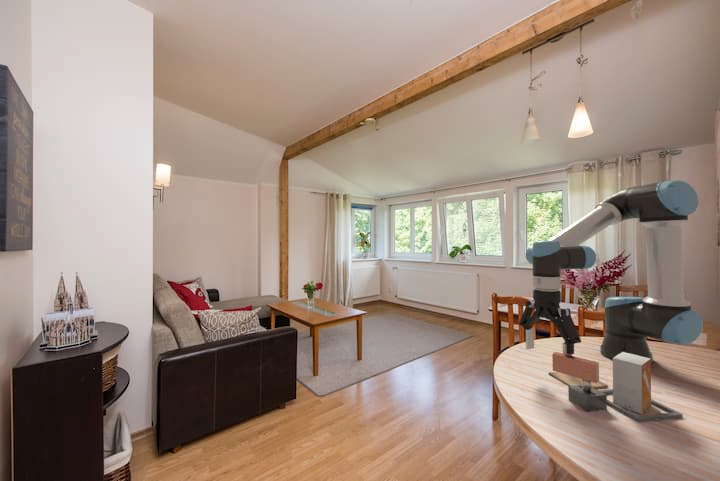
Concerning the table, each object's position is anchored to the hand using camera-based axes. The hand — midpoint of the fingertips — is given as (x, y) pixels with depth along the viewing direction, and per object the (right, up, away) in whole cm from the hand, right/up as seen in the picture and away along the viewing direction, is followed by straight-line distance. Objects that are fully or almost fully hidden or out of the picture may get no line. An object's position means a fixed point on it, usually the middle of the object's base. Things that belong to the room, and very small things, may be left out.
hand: (547, 355), depth 96 cm
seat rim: (+16, -9, -13) cm, 22 cm away
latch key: (+2, -5, -10) cm, 11 cm away
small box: (+16, -9, -13) cm, 22 cm away
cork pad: (+11, -9, +2) cm, 14 cm away
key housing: (+3, -9, -12) cm, 16 cm away
